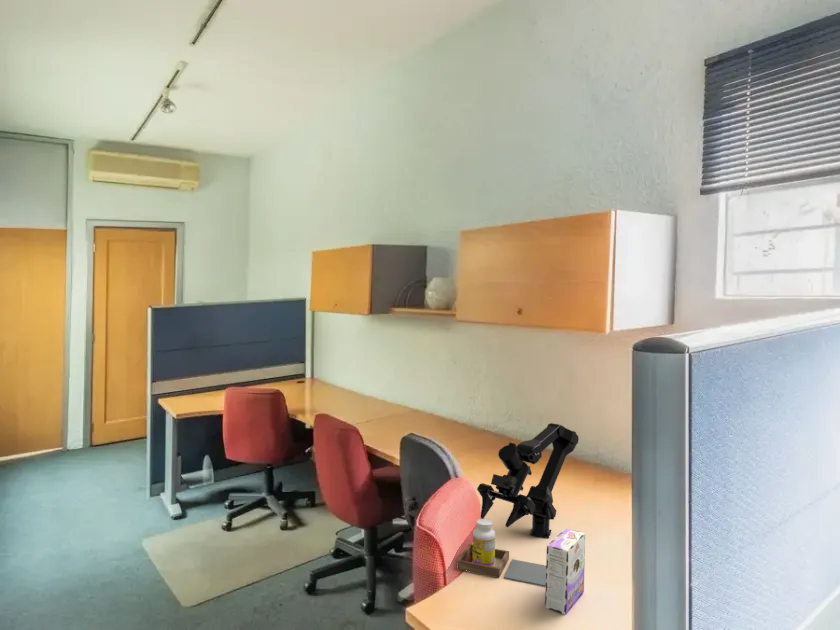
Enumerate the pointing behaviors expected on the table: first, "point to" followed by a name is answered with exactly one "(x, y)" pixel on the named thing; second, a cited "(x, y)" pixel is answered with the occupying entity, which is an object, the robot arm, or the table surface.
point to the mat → (526, 572)
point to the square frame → (481, 568)
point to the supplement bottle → (484, 543)
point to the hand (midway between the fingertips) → (493, 522)
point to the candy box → (565, 571)
